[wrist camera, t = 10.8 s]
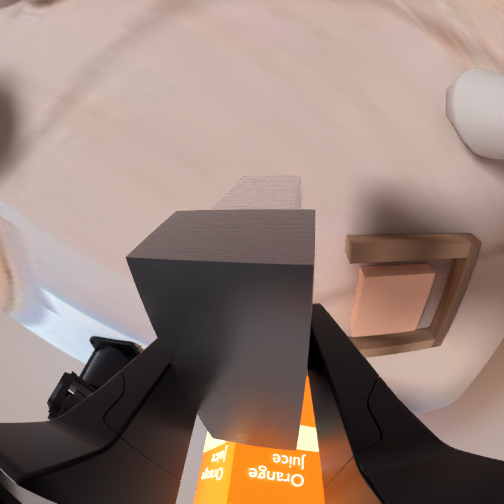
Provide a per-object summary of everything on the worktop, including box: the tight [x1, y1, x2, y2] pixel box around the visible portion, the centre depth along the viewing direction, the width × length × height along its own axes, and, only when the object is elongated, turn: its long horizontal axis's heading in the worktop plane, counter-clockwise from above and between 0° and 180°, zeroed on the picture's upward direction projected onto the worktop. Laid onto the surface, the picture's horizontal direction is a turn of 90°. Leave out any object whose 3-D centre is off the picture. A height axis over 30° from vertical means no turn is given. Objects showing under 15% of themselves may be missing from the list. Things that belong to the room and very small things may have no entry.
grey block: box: [126, 175, 315, 451], centre depth 8 cm, size 3×8×6 cm, turn 5°
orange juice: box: [194, 376, 325, 504], centre depth 18 cm, size 8×9×20 cm
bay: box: [345, 233, 481, 357], centre depth 19 cm, size 11×11×2 cm
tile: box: [349, 264, 436, 337], centre depth 19 cm, size 6×6×2 cm
